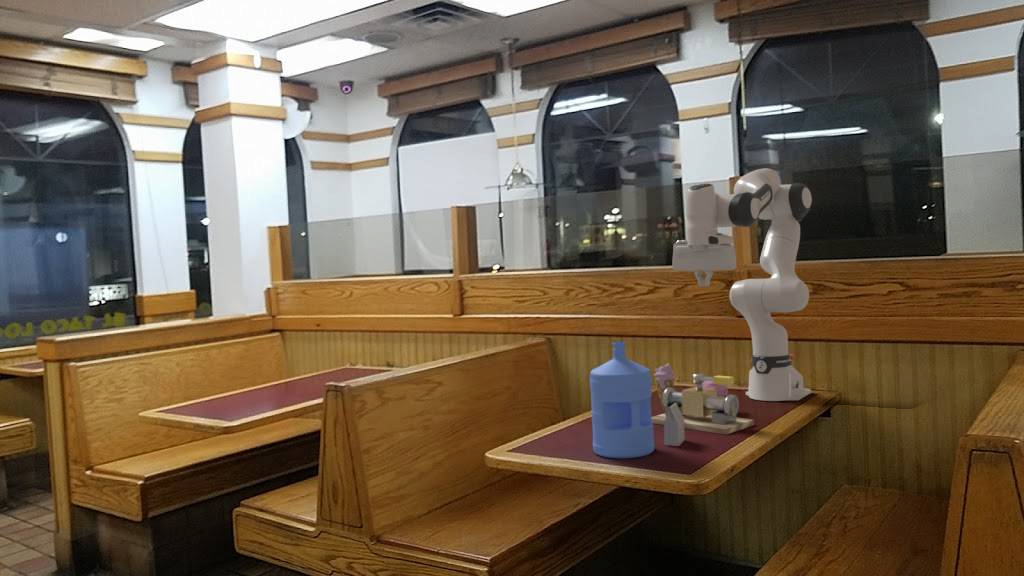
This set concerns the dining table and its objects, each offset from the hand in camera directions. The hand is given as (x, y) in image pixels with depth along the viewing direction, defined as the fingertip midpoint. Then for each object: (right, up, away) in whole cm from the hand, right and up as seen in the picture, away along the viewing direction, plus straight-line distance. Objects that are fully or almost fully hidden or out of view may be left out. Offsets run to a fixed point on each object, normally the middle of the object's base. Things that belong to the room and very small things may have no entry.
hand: (704, 286), depth 246 cm
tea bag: (-14, -42, -26) cm, 51 cm away
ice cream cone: (-9, -39, +14) cm, 42 cm away
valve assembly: (-3, -40, -6) cm, 40 cm away
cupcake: (+5, -39, +9) cm, 40 cm away
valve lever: (0, -27, -10) cm, 29 cm away
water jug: (-28, -43, -33) cm, 61 cm away
